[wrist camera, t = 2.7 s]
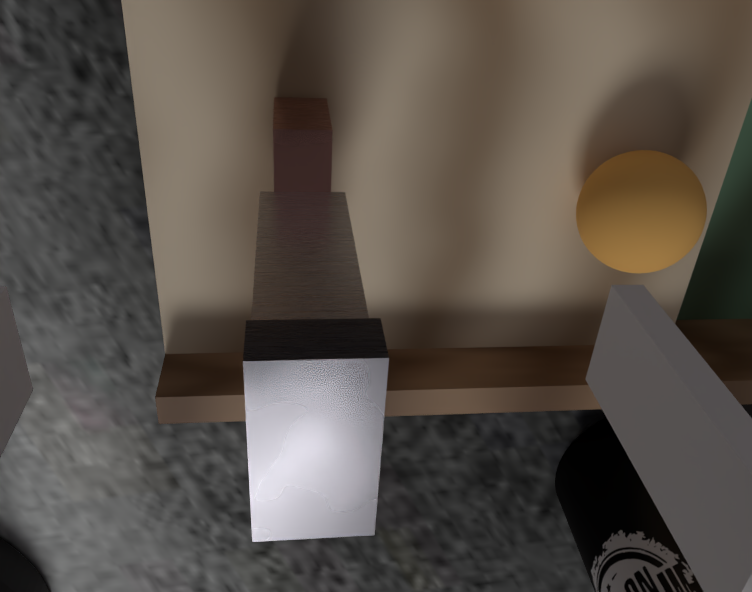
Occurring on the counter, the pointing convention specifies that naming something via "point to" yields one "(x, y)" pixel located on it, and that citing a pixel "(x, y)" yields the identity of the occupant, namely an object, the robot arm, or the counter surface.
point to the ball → (641, 211)
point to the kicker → (310, 349)
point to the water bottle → (617, 519)
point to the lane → (444, 180)
